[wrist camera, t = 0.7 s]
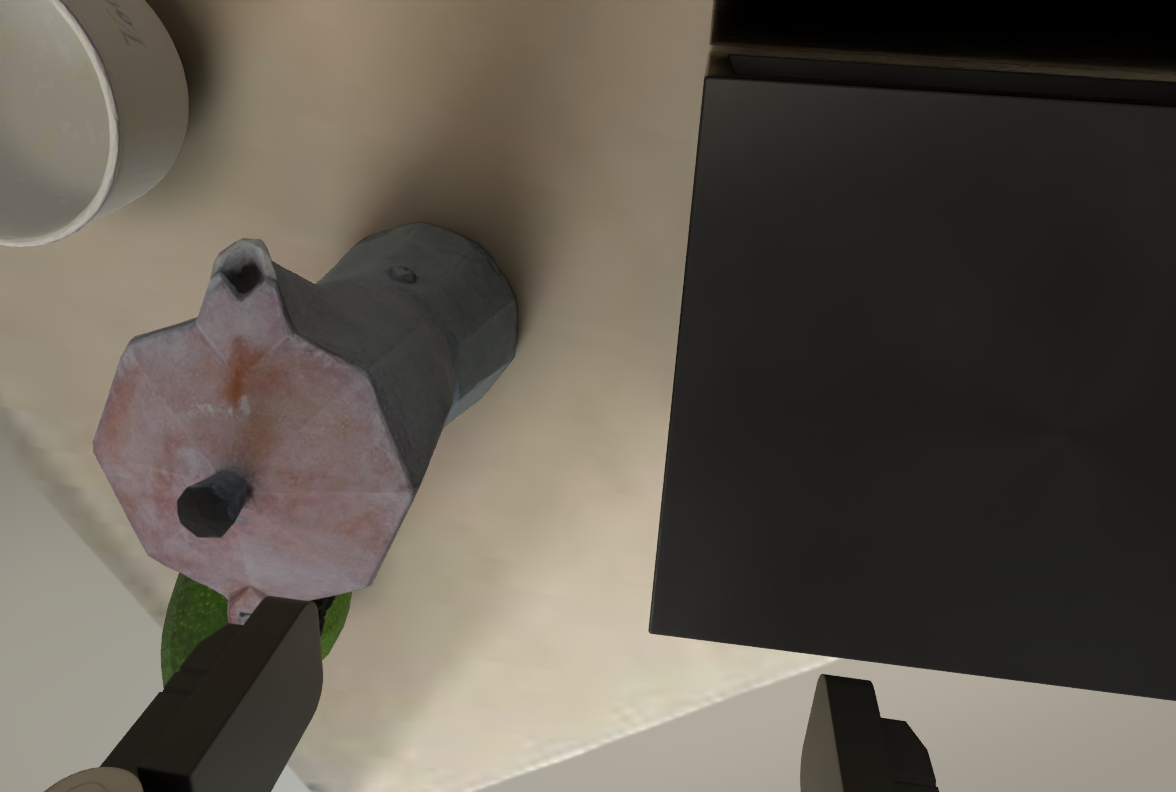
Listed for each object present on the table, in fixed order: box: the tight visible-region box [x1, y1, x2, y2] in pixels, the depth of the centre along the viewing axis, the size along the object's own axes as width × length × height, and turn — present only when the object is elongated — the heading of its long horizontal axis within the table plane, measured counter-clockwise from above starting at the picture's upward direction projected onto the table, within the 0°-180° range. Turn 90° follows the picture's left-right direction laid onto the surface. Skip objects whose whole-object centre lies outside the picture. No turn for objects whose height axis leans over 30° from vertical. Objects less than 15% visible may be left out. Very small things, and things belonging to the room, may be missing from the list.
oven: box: [649, 52, 1176, 701], centre depth 30 cm, size 16×20×16 cm
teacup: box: [0, 0, 189, 247], centre depth 35 cm, size 14×11×8 cm
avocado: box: [161, 572, 352, 686], centre depth 42 cm, size 8×8×12 cm
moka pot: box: [93, 223, 517, 637], centre depth 32 cm, size 10×15×20 cm, turn 0°
